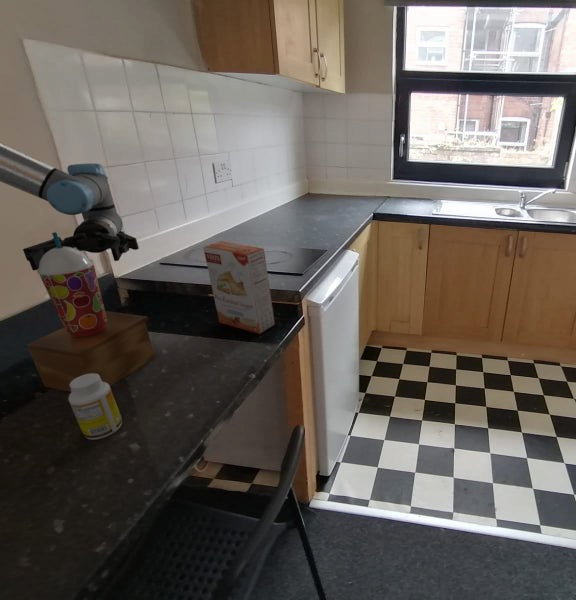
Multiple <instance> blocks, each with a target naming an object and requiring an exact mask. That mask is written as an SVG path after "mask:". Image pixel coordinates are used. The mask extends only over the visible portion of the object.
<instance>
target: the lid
mask: <svg viewBox="0 0 576 600" xmlns="http://www.w3.org/2000/svg"><path fill="white" fill-rule="evenodd" d="M105 313H106V317H107V322H106V323H105V324H106V327H105V329H103V330H102V331H100V332H99V333H96V334H94V335H90V336H85V337H74V336H72V335H71V334H70V332H67V331H66V330H65V328H64V327H61V328H59V329H56V330H55V331H53V332H51V333H48V334H46V335H44V336H42V337H40V338H38V339H35V340H33V341H31V342H29V343H27V344H26V348H27V349H35V350H41V351H47V352H52V353H58V354H64V355H70V356H76V357H81V356H83V355H85V354H87V353H89V352H91V351H92V350H94V349H96V348H98V347H100V346H102V345H104V344H105V343H107V342H109V341H111V340H113V339H115V338H116V337H118V336H120V335H122V334H124V333H126V332H127V331H129V330H131V329H133V328H135V327H137V326H139V325H140V324H142V323H144V322H145V323H147V322H148V321H149V317H148V316H145V315H137V314H131V313H123V312H115V311H109V310H105Z"/></svg>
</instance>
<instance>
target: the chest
mask: <svg viewBox="0 0 576 600" xmlns="http://www.w3.org/2000/svg"><path fill="white" fill-rule="evenodd" d="M27 349H28V353H29V354H30V356H31V358H32V361H33V363H34V365H35V368H36V370H37V373H38V375H39V377H40V379H41V381H42V384H43V386H44V387H45V388H48V389H49V388H50V389H54V390H60V391H64V392H68V393H71V388H70V383H71V381H73V380H74V379H75V378H77V377H79V376H82V375H86V374H92V373H94V374H98V375H99V376H100V378H101V380H102V382H106V383H108V384H109V386H110V388H111V387H113V386H114V385H116V384H118V382H120V381H121V380H123V379H124V378H126V377H128V376H129V375H131V374H132V373H134V372H135V371H137V370H139V367H140V368H141V367H143V366H144V365H146V364H147V363H149V362H150V361H152V360H153V359H155V358H156V355H155V352H154V347H153V344H152V341H151V338H150V334H149V331H148V327H147V324H146V322H144V323H142V324H140V325H139V326H137V327H135V328H133V329H131V330H129V331H127V332H126V333H124V334H122V335H120V336H118V337H116V338H115V339H113V340H111V341H109V342H107V343H105V344H104V345H102V346H100V347H98V348H96V349H94V350H92V351H91V352H89V353H87V354H85V355H83V356H81V357H76V356H70V355H64V354H58V353H52V352H47V351H41V350H35V349H29V348H27ZM154 357H155V358H154ZM151 359H152V360H151ZM148 361H149V362H148Z"/></svg>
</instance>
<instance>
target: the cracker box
mask: <svg viewBox="0 0 576 600" xmlns="http://www.w3.org/2000/svg"><path fill="white" fill-rule="evenodd" d="M202 248H203V252H204V257H205V262H206V267H207V271H208V276H209V279H210V280H209V281H210V284H211V291H212V294H213V299H214V305H215V309H216V314H217V317H218V322H219V324H223V325H226V326H230V327H233V328H237V329H240V330H244V331H247V332H251V333H255V334H258V335H261V334H262V333H264V332H266V331H267V330H269V329H271V328H272V327H274V326H275V325H276V322H275V321H276V320H275V315H274V308H273V303H272V295H271V287H270V280H269V274H268V273H269V272H268V267H267V261H266V253H265V248H264V247H258V246H251V245H247V244H240V243H235V242H229V241H223V240H221V241H217V242H214V243H211V244H208V245H205V246H203V247H202Z"/></svg>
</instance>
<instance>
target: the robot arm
mask: <svg viewBox="0 0 576 600" xmlns="http://www.w3.org/2000/svg"><path fill="white" fill-rule="evenodd" d="M66 168H67V172H65V171H63V170H60V169H58V168H56V167H54V166H52V165H50V164H48V163H46V162H43V161H42V160H40V159H37V158H35V157H33V156H30V155H28V154H27V153H24V152H22V151H20V150H18V149H15V148H14V147H12V146H9V145H6V144H4V143H2V142H0V182H1V183H3V184H5V185H7V186H10V187H13V188H15V189H18V190H20V191H23V192H25V193H27V194H29V195H32V196H35V197H36V198H39V199H41V200H44V201H46V202H48V204H49V205H50V206H51V207H52V208H53V209H54V210H55V211H57V212H59V213H61V214H63V215H66V216H67V215H68V216H76V215H80V214H81V216H82V220H83V221H81V223H79V225H78V226H76V228H75V229H74V231H73V234H72V235H71V236H67V237H64V238H63V239H62V238H61V237H60V236H58V238H59V241H60V244H61V247H71V248H75V249H78V250H80V251H81V252H88V253H92V254H101V253H104V252H105V251H107V250H110V251H111V255H112V258H113V261H114V262H119V261H120V259H121V257H122V255H123V254H126V253H127V252H128V251H130V249H131V250H135V251H137V250H139V249H140V247H139V244H138V239H137V238H136V237H135V236H132V235H130V234H127V233H125V231H123V227H124V226H123V225H124V224H123V219H122V216H120V215H119V213H118V212H117V208H116V205H115V202H114V198H113V195H112V191H111V188H110V184H109V180H108V179H109V178H108V176H107V174H106V170H105V168H104V166H103V165H102V164H100V163H93V162H91V163H74V164H70V165H68V166H67V167H66ZM56 247H57V246H56V243H55V240H54V237H53V238H51V239H48V240H46V241H44V242H40V243H37V244H34V245H30V246H28V247H24V248H22V252H23V254H24V255H25V256H24V257H25V259H26V261H27V262H29V265H30V267H31V270H32V271H37V269H38V268H39V263H40V260H41V258H42V256H43V255H44V254H45V253H46V252H48V251H49V250H51V249H53V248H56Z"/></svg>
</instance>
